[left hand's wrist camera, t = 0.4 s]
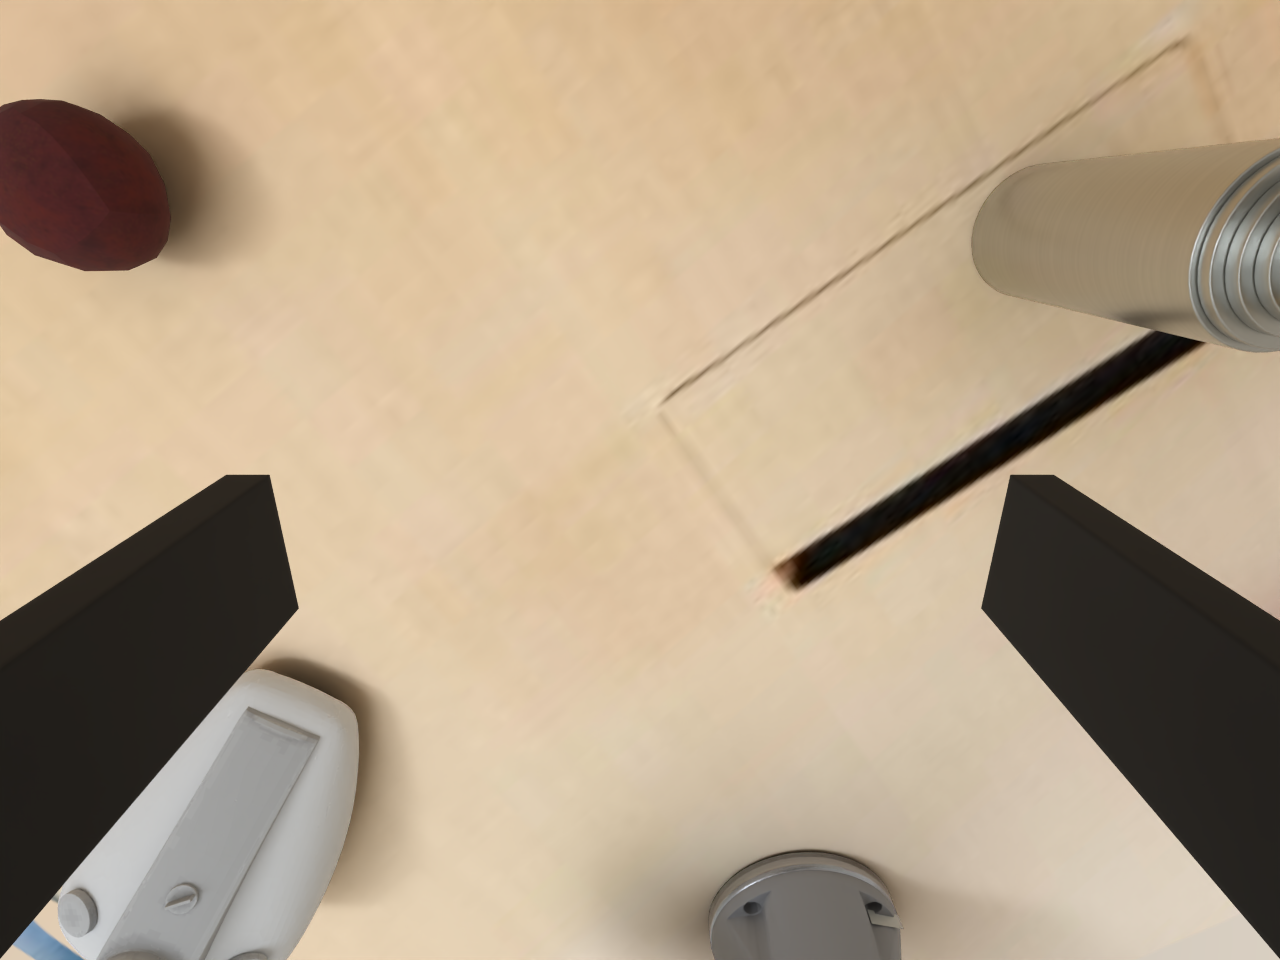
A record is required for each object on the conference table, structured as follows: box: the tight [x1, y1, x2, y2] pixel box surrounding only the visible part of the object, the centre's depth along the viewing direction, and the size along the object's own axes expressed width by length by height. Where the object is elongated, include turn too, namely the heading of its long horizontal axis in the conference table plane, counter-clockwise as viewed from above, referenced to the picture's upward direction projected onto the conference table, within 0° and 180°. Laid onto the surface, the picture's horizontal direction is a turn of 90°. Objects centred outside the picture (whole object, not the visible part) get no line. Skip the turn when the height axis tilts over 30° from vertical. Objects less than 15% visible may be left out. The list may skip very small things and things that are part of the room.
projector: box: [58, 669, 359, 960], centre depth 45 cm, size 22×23×15 cm
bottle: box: [972, 138, 1280, 352], centre depth 27 cm, size 7×7×21 cm
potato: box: [0, 99, 171, 271], centre depth 32 cm, size 7×8×7 cm
